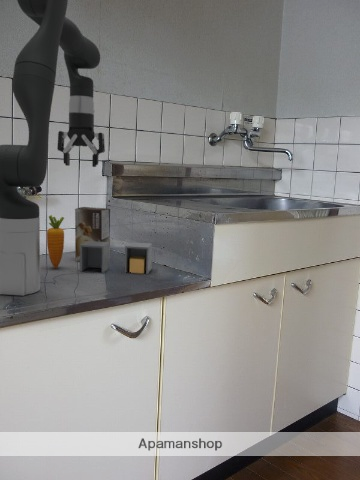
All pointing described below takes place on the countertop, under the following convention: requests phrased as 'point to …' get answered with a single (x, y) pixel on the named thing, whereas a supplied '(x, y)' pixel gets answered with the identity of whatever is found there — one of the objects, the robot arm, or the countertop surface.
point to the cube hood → (138, 254)
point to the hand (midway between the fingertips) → (80, 166)
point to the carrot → (55, 241)
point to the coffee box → (91, 227)
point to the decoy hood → (94, 255)
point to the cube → (138, 264)
